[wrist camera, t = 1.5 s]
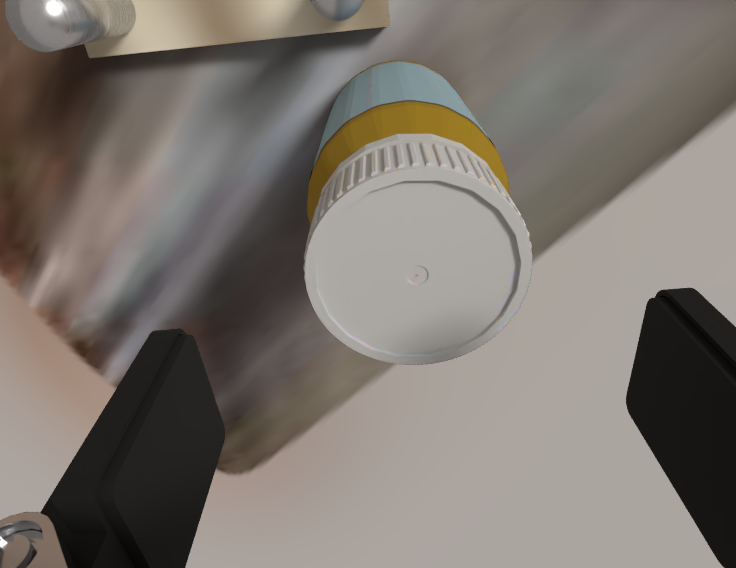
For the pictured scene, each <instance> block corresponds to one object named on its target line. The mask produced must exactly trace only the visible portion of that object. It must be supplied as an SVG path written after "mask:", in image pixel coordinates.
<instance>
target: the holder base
mask: <svg viewBox="0 0 736 568" xmlns="http://www.w3.org/2000/svg"><path fill="white" fill-rule="evenodd" d="M132 2H133V4H134V7H135V11H136V21H135V24H134V27H133V28H132V30H131V31H130V32H128V33H126V34H124V35H120V36H116V37H111V38H107V39H103V40H99V41H94V42H90V43H86V44H84V45H85V48H86V50H87V53H88V56H89V58H97V57H106V56H115V55H125V54H134V53H144V52H153V51H162V50H172V49H181V48H191V47H200V46H209V45H219V44H228V43H238V42H247V41H256V40H266V39H275V38H285V37H294V36H303V35H313V34H322V33H332V32H341V31H351V30H360V29H369V28H379V27H388V26H390V22H389V7H388V0H364V3H363V5H362V6H361V8H360V9H359V11H358V12H357V13H356V14H355V15H353V16H352V17H350V18H348V19H346V20H341V21H334V20H330V19H327V18H325V17H323V16H322V15H320V14H319V13H318V12H317V11H316V10H315V9H314V7H313V6H312V4H311V2H310V0H132Z"/></svg>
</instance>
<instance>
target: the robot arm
mask: <svg viewBox="0 0 736 568" xmlns="http://www.w3.org/2000/svg"><path fill="white" fill-rule="evenodd" d="M626 404H627V409H628V412H629V414H630V416H631V418H632V419H633V421H634V423H635V424H636V426H637V427H638V429H639V431H640V432H641V434H642V436H643V437H644V439H645V440H646V442H647V444H648V446H649V447H650V449H651V451H652V452H653V454H654V456H655V457H656V459H657V460H658V462H659V464H660V465H661V467H662V469H663V470H664V472H665V474H666V475H667V477H668V478H669V480H670V482H671V483H672V485H673V487H674V488H675V490H676V492H677V493H678V495H679V497H680V498H681V500H682V502H683V503H684V505H685V507H686V508H687V510H688V512H689V513H690V515H691V517H692V518H693V520H694V521H695V523H696V525H697V527H698V528H699V530H700V532H701V533H702V535H703V536H704V538H705V540H706V541H707V543H708V545H709V546H710V548H711V550H712V551H713V553H714V554H715V556H716V558H717V560H718V561H719V562H720V563H721V565H722V566H723V567H724V568H736V327H735V326H734V325H733V324H732V323H731V322H730V321H728V320H727V319H726V318H725V317H724V316H723V315H722V314H721V313H720V312H719V311H718V310H717V309H716V308H715V307H714V306H712V305H711V304H710V303H709V302H708V301H707V300H706V299H705V298H704V297H703V296H702V295H701V294H700V293H699V292H698V291H696V290H695V289H693V288H680V289H668V290H661V291H659V292H658V293H657V294H656V296H655V298H651V299H649V301H648V303H647V306H646V310H645V315H644V319H643V324H642V328H641V333H640V337H639V341H638V346H637V350H636V355H635V360H634V364H633V368H632V373H631V378H630V382H629V386H628V391H627V396H626ZM224 438H225V430H224V424H223V421H222V418H221V415H220V412H219V409H218V406H217V403H216V401H215V398H214V395H213V392H212V389H211V386H210V383H209V380H208V377H207V374H206V371H205V368H204V365H203V362H202V359H201V356H200V353H199V350H198V347H197V344H196V341H195V339H194V337H193V336H192V335H186V333H185V332H184V331H183V330H182V329H170V330H157V331H153V332H152V333H151V334H150V335H149V337H148V338H147V340H146V342H145V343H144V345H143V346H142V348H141V350H140V351H139V353H138V355H137V356H136V358H135V359H134V361H133V363H132V364H131V366H130V368H129V369H128V371H127V373H126V374H125V376H124V377H123V379H122V381H121V382H120V384H119V386H118V387H117V389H116V390H115V392H114V394H113V396H112V397H111V399H110V400H109V402H108V404H107V405H106V406H105V408H104V410H103V411H102V413H101V415H100V416H99V418H98V420H97V421H96V423H95V424H94V426H93V428H92V429H91V431H90V433H89V434H88V436H87V438H86V439H85V441H84V443H83V444H82V446H81V448H80V449H79V451H78V452H77V454H76V456H75V457H74V459H73V460H72V462H71V464H70V465H69V467H68V469H67V470H66V472H65V473H64V475H63V477H62V478H61V480H60V482H59V483H58V485H57V486H56V488H55V490H54V491H53V493H52V495H51V496H50V498H49V499H48V501H47V503H46V504H45V506H44V508H43V509H42V511H41V513H39V512H24V513H20V514H16V515H12V516H9V517H7V518H5V519H2V520H0V568H185V566H186V563H187V560H188V556H189V553H190V550H191V547H192V544H193V540H194V537H195V534H196V531H197V527H198V524H199V521H200V518H201V514H202V511H203V508H204V505H205V502H206V498H207V495H208V492H209V488H210V485H211V482H212V479H213V476H214V472H215V469H216V466H217V463H218V460H219V456H220V453H221V450H222V447H223V443H224Z"/></svg>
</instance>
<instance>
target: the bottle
mask: <svg viewBox="0 0 736 568" xmlns="http://www.w3.org/2000/svg"><path fill="white" fill-rule="evenodd" d="M307 215H308V219H309V223H310V231H309V235H308V239H307V243H306V250H305V254H304V260H305V262H304V266H303V270H304V272H305V276H304V281H305V282H306V290H307V292H308V295H309V298H310V301H311V304H312V306H313V308H314V310H315V312H316V314H317V316H318V317H319V319H320V320H321V322H322V323H323V324H324V325H325V327H326V328H327V329H328V330H329V331H330V332H331V333H332V334H333V335H334V336H335V337H336V338H337V339H339V340H340V341H341V342H342V343H344V344H345V345H347V346H348V347H350V348H351V349H353V350H355V351H357V352H359V353H361V354H363V355H365V356H368V357H371V358H373V359H377V360H380V361H384V362H389V363H395V364H404V365H423V364H432V363H438V362H443V361H447V360H450V359H454V358H457V357H460V356H462V355H464V354H467V353H469V352H471V351H473V350H475V349H477V348H479V347H480V346H482V345H484V344H485V343H487V342H488V341H489V340H491V339H492V338H493V337H495V336H496V335H497V334H498V333H499V332H500V331H501V330H502V329H503V328H504V327H505V326H506V325H507V324H508V323H509V322H510V321H511V319H512V318H513V317H514V315H515V314H516V312H517V311H518V309H519V307H520V306H521V304H522V302H523V300H524V297H525V295H526V293H527V290H528V287H529V283H530V278H531V272H532V252H531V247H532V246H531V242H530V240H529V232H528V230H527V229H526V224H525V221H524V220H523V218H522V217H521V214H520V212H519V210H518V209H517V207H516V206H515V204H514V202H513V201H512V199H511V198H510V196H509V182H508V177H507V174H506V171H505V169H504V166H503V164H502V161H501V158H500V156H499V154H498V152H497V150H496V148H495V146H494V145H493V143H492V141H491V140H490V139H489V137H488V136H487V134H486V133H485V132H484V130H483V129H482V127H481V126H480V125H479V123H478V122H477V120H476V119H475V118H474V116H473V115H472V113H471V112H470V111H469V109H468V108H467V106H466V105H465V104H464V102H463V101H462V99H461V98H460V97H459V95H458V94H457V92H456V91H455V90H454V89H453V88H452V87H451V85H450V84H449V83H448V82H447V81H446V80H445V79H444V78H443V77H442V76H441V75H440V74H438V73H437V72H435V71H433V70H431V69H429V68H428V67H426V66H424V65H421V64H418V63H413V62H407V61H390V62H385V63H379V64H376V65H373V66H371V67H369V68H368V69H366V70H364V71H362V72H360V73H359V74H357V75H356V76H355V77H353V78H352V79H351V80H350V82H349V83H348V84H347V85H346V86H345V87H344V88H343V89H342V90H341V92H340V93H339V95H338V97H337V98H336V101H335V103H334V105H333V108H332V110H331V112H330V115H329V118H328V121H327V124H326V127H325V131H324V134H323V137H322V140H321V143H320V146H319V150H318V153H317V156H316V159H315V162H314V165H313V169H312V172H311V176H310V182H309V188H308V199H307Z"/></svg>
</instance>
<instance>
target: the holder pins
mask: <svg viewBox="0 0 736 568" xmlns="http://www.w3.org/2000/svg"><path fill="white" fill-rule="evenodd" d="M310 2H311V4H312V6H313V7H314V9H315V10H316V11H317V12H318V13H319V14H320V15H322V16H323V17H325V18H327V19H330V20H334V21H341V20H346V19H348V18H350V17H352V16H353V15H355V14H356V13H357V12H358V11H359V9H360V8H361V6H362V5H363V3H364V0H310ZM5 11H6V17H7V21H8V23H9V26H10V28H11V29H12V31H13V33H14V34H15V35H16V36H17V38H18V39H19V40H20V41H21V42H22V43H24V44H25V45H26V46H28V47H30V48H32V49H34V50H36V51H40V52H51V51H56V50H60V49H64V48H69V47H73V46H77V45H81V44H86V43H90V42H94V41H99V40H103V39H107V38H111V37H116V36H120V35H124V34H126V33H128V32H130V31H131V30H132V28H133V27H134V24H135V21H136V11H135V7H134V4H133V2H132V0H7V1H6V7H5Z"/></svg>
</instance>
